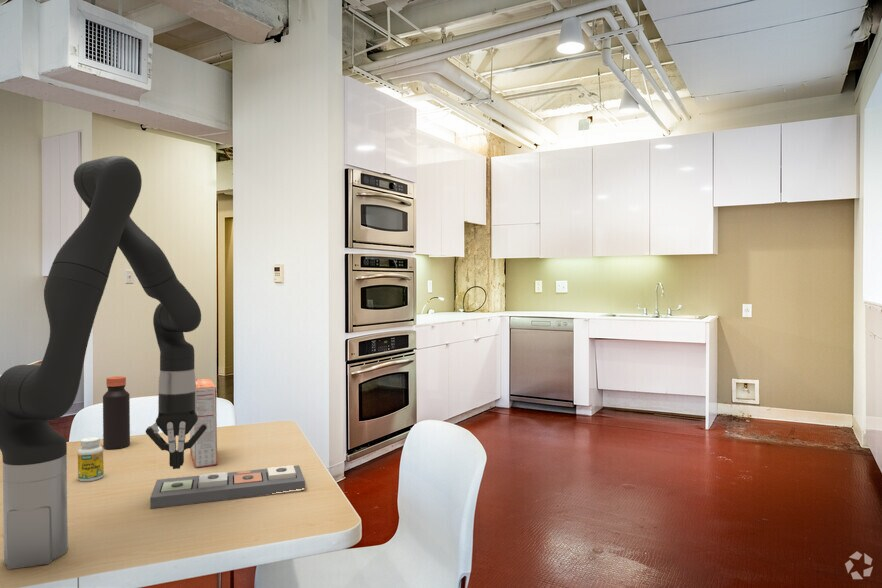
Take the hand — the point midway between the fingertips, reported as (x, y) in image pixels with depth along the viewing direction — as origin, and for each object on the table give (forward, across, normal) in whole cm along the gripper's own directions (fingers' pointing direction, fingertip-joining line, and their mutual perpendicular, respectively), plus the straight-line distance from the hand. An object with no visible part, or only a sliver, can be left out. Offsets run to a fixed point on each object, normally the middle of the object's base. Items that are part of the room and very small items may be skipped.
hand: (176, 467), depth 131 cm
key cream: (+5, +23, +1) cm, 23 cm away
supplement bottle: (+7, -21, +20) cm, 30 cm away
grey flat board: (+6, +11, +1) cm, 13 cm away
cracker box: (+6, +4, +28) cm, 29 cm away
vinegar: (+6, -20, +49) cm, 54 cm away
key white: (+5, +8, +1) cm, 9 cm away
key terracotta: (+6, +15, +1) cm, 16 cm away
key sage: (+6, 0, 0) cm, 6 cm away
